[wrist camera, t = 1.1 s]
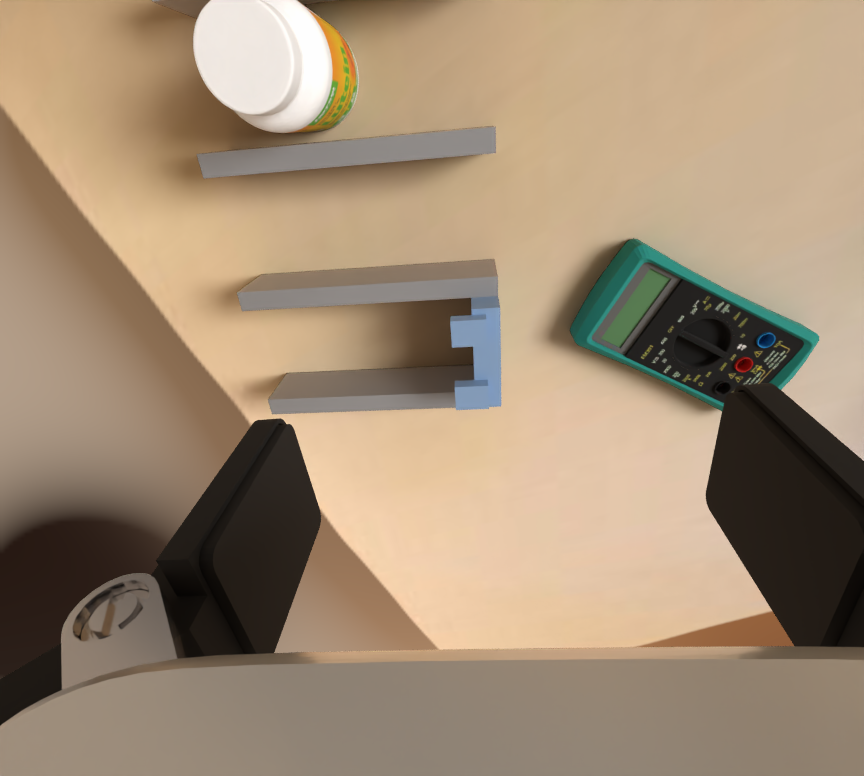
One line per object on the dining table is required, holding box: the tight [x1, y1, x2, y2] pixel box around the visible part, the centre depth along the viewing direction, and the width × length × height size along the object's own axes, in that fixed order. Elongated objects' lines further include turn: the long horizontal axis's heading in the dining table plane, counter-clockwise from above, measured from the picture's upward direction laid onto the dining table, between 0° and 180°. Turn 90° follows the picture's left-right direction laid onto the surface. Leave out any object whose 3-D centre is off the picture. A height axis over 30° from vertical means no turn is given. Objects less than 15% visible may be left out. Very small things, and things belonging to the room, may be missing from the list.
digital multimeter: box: [570, 239, 819, 411], centre depth 32 cm, size 7×15×3 cm, turn 66°
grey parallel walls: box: [152, 0, 501, 414], centre depth 27 cm, size 24×16×7 cm, turn 5°
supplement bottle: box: [193, 0, 359, 133], centre depth 23 cm, size 5×5×10 cm
